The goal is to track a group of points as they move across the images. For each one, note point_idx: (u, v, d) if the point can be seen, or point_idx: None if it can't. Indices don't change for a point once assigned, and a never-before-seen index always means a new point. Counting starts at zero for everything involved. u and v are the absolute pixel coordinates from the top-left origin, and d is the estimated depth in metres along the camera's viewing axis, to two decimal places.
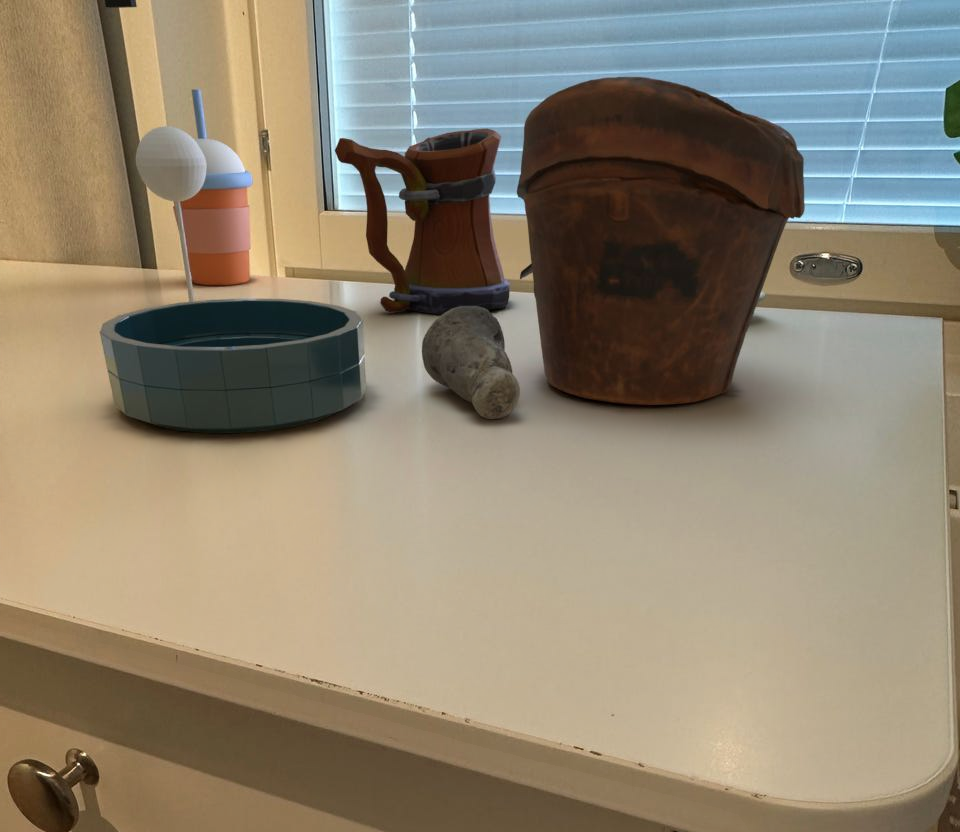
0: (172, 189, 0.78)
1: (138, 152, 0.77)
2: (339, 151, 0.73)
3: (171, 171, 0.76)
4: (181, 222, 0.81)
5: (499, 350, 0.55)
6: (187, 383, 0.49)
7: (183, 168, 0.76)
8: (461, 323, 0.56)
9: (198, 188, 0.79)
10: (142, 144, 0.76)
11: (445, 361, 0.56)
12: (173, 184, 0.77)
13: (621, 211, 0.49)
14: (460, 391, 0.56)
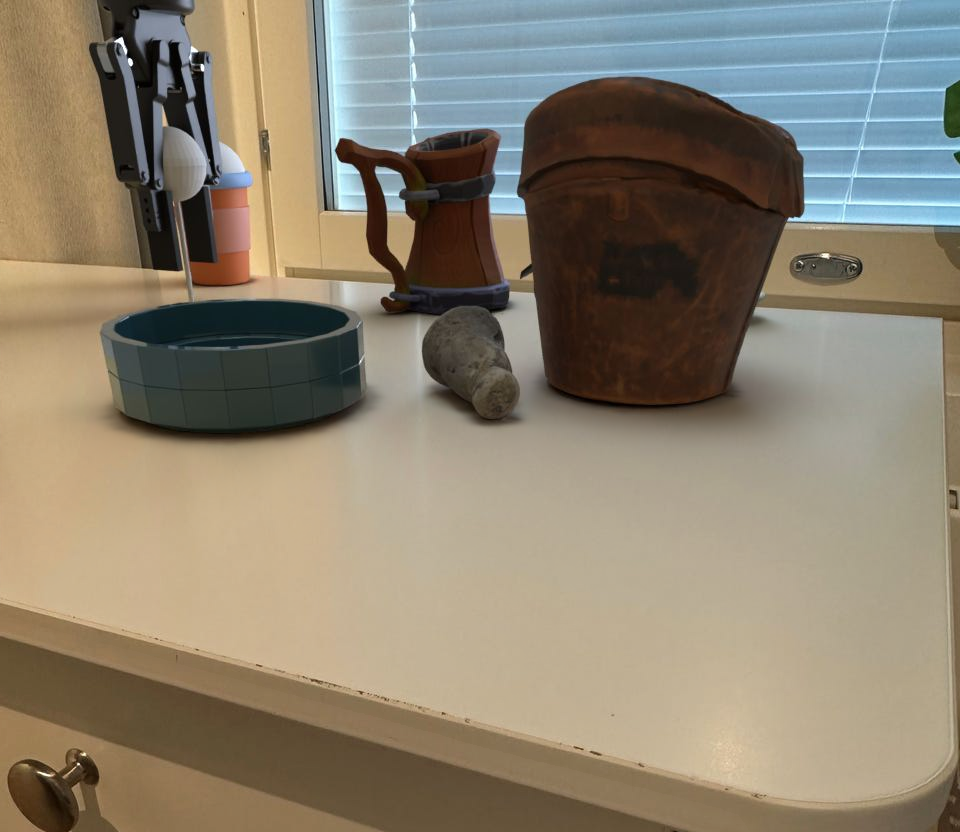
0: (172, 189, 0.78)
1: None
2: (339, 151, 0.73)
3: (170, 171, 0.76)
4: (181, 222, 0.81)
5: (499, 350, 0.55)
6: (187, 383, 0.49)
7: (183, 168, 0.76)
8: (461, 323, 0.56)
9: (198, 188, 0.79)
10: None
11: (445, 361, 0.56)
12: (172, 184, 0.77)
13: (621, 211, 0.49)
14: (460, 391, 0.56)
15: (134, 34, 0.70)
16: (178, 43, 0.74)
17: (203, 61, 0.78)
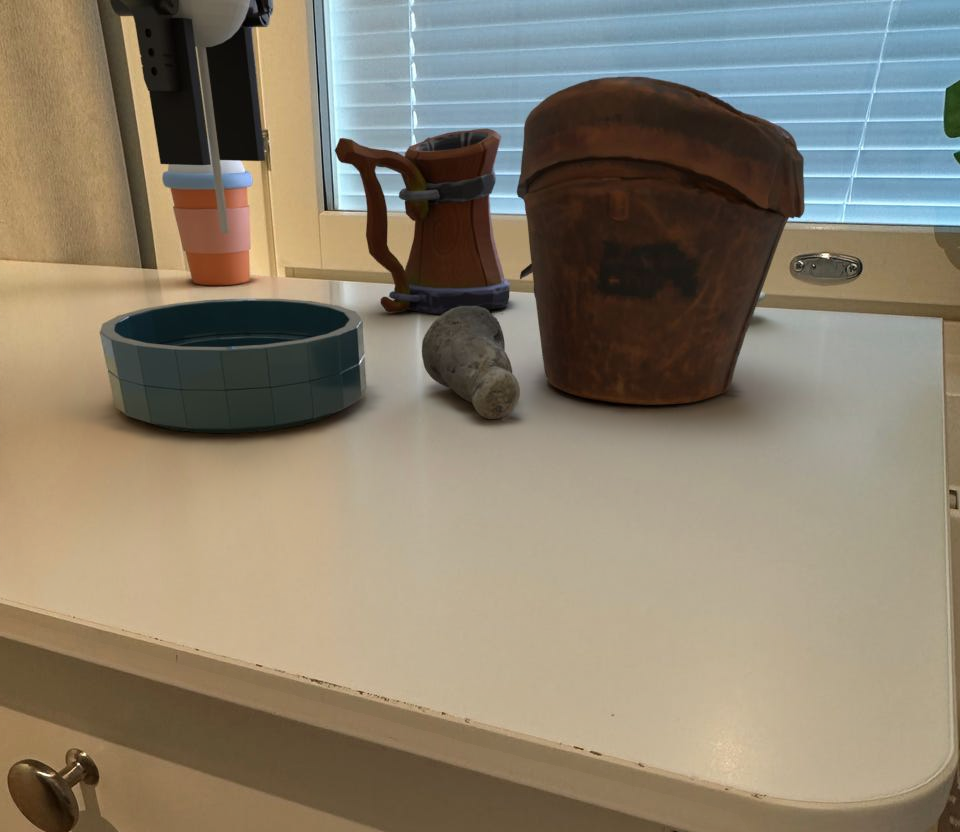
0: (194, 18, 0.45)
1: None
2: (339, 151, 0.73)
3: None
4: (208, 85, 0.48)
5: (499, 350, 0.55)
6: (187, 383, 0.49)
7: None
8: (461, 323, 0.56)
9: (237, 22, 0.47)
10: None
11: (445, 361, 0.56)
12: (195, 9, 0.45)
13: (621, 210, 0.49)
14: (460, 391, 0.56)
15: None
16: None
17: None
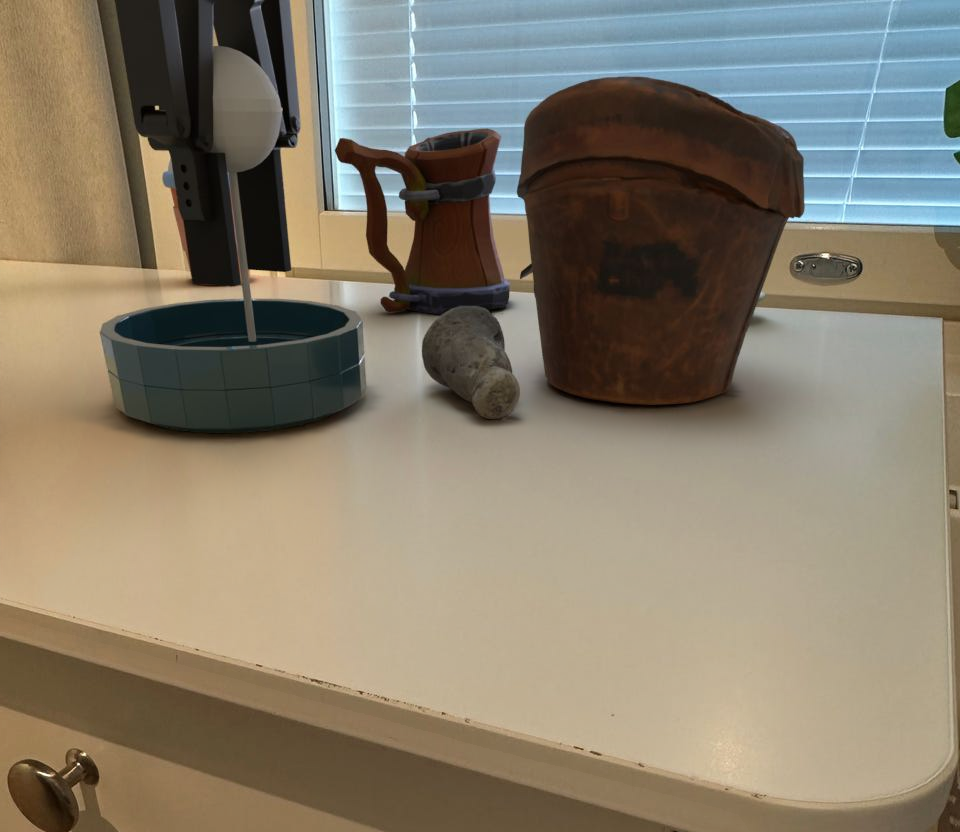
0: (227, 151, 0.47)
1: None
2: (339, 151, 0.73)
3: (226, 120, 0.46)
4: (238, 206, 0.50)
5: (499, 350, 0.55)
6: (187, 383, 0.49)
7: (247, 115, 0.46)
8: (461, 323, 0.56)
9: (268, 150, 0.48)
10: None
11: (445, 361, 0.56)
12: (228, 143, 0.47)
13: (621, 211, 0.49)
14: (460, 391, 0.56)
15: None
16: None
17: None
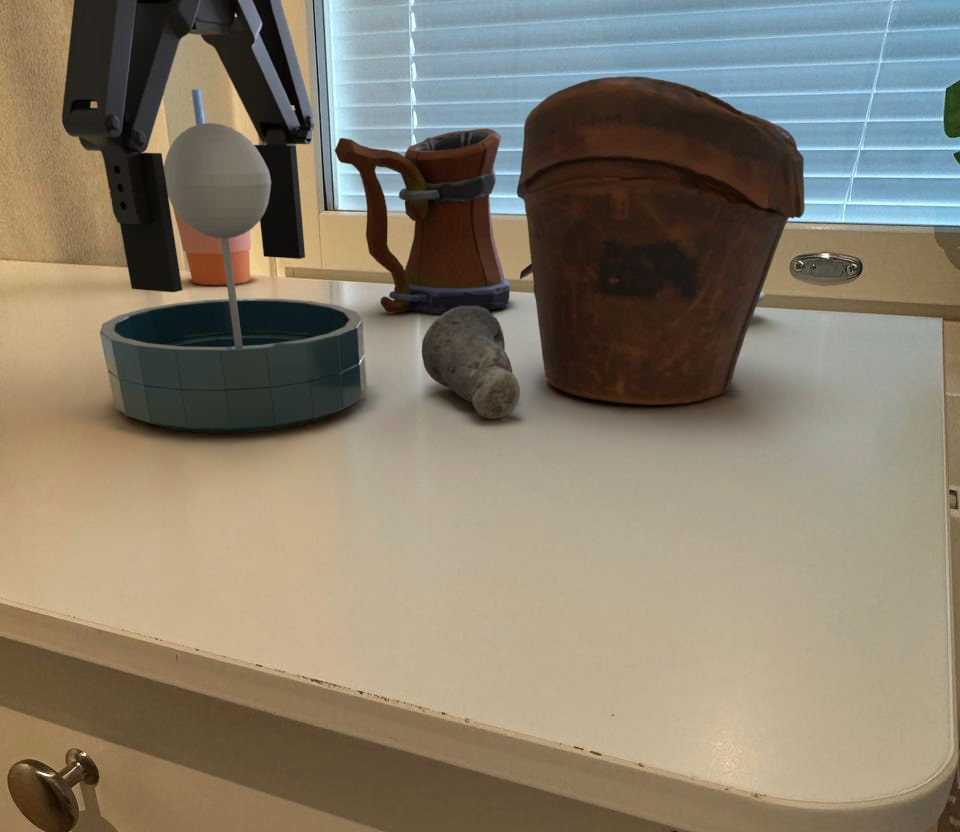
0: (220, 221, 0.50)
1: (167, 164, 0.49)
2: (339, 151, 0.73)
3: (219, 194, 0.49)
4: (230, 269, 0.53)
5: (499, 350, 0.55)
6: (187, 383, 0.49)
7: (238, 189, 0.49)
8: (461, 323, 0.56)
9: (258, 218, 0.52)
10: (174, 151, 0.49)
11: (445, 361, 0.56)
12: (221, 214, 0.50)
13: (621, 211, 0.49)
14: (460, 391, 0.56)
15: None
16: None
17: None
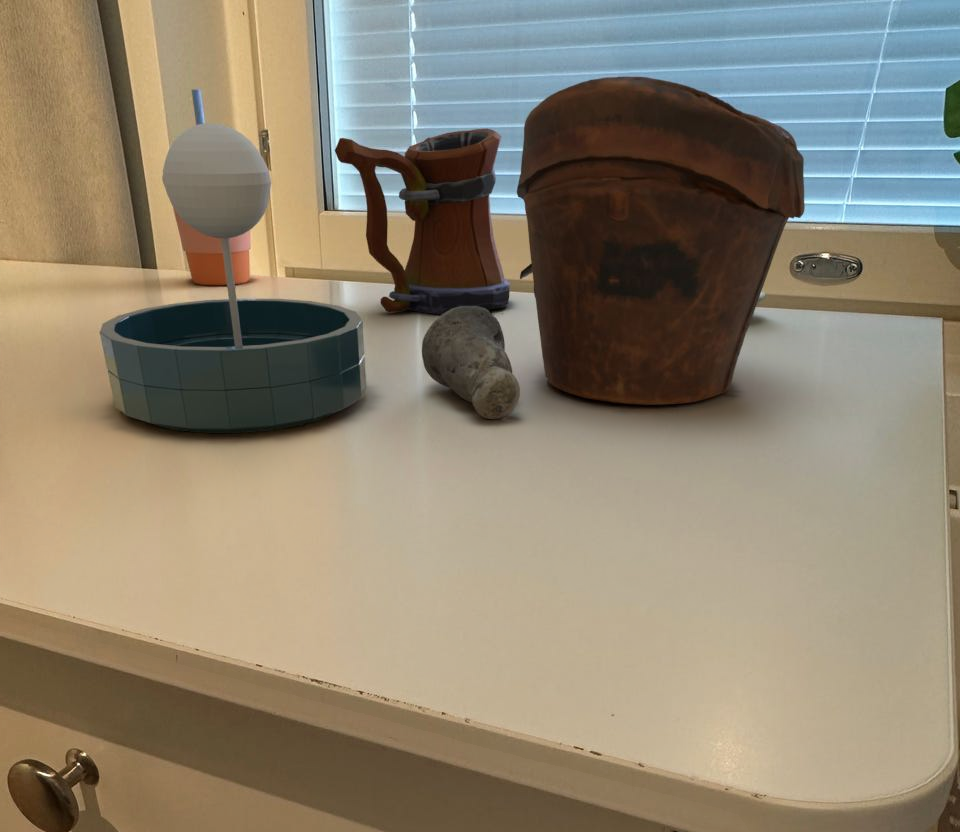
0: (220, 221, 0.50)
1: (167, 164, 0.49)
2: (339, 151, 0.73)
3: (219, 194, 0.49)
4: (230, 269, 0.53)
5: (499, 350, 0.55)
6: (187, 383, 0.49)
7: (238, 189, 0.49)
8: (461, 323, 0.56)
9: (258, 218, 0.52)
10: (174, 151, 0.49)
11: (445, 360, 0.56)
12: (221, 214, 0.50)
13: (621, 210, 0.49)
14: (460, 391, 0.56)
15: None
16: None
17: None
